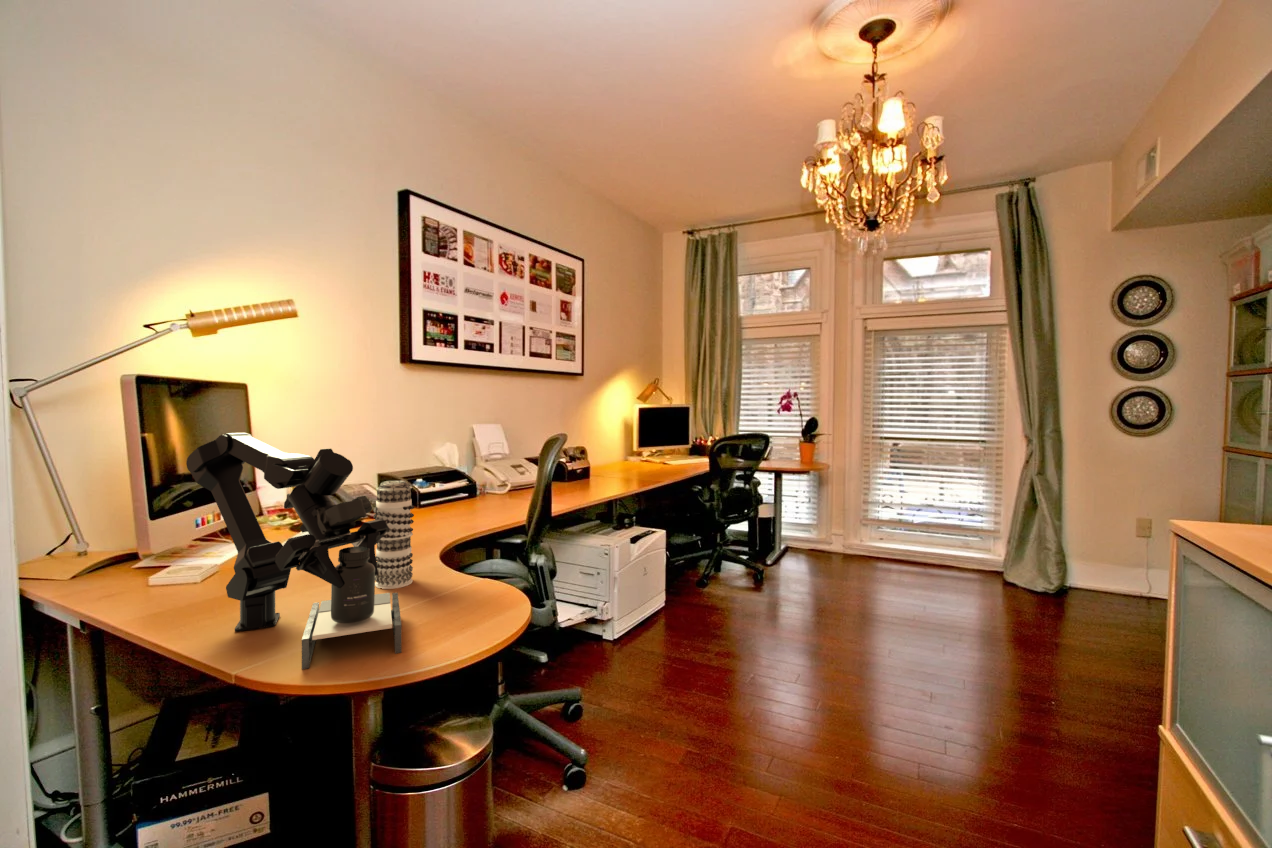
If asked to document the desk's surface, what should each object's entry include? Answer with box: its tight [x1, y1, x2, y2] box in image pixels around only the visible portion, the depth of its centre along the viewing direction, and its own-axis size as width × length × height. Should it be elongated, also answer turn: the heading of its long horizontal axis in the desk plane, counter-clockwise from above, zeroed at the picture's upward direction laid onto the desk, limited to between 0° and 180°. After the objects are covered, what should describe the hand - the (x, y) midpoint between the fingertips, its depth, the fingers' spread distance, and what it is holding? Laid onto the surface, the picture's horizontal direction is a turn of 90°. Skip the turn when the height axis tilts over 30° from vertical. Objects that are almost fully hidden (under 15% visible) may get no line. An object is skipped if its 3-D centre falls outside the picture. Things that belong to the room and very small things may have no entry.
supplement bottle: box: [330, 546, 376, 623], centre depth 94 cm, size 7×7×12 cm
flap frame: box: [301, 592, 402, 670], centre depth 99 cm, size 18×15×5 cm
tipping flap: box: [312, 592, 393, 641], centre depth 99 cm, size 17×12×3 cm
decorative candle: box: [372, 480, 415, 590], centre depth 131 cm, size 9×9×25 cm
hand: (359, 580), depth 94 cm, fingers closed on supplement bottle, 6 cm apart
